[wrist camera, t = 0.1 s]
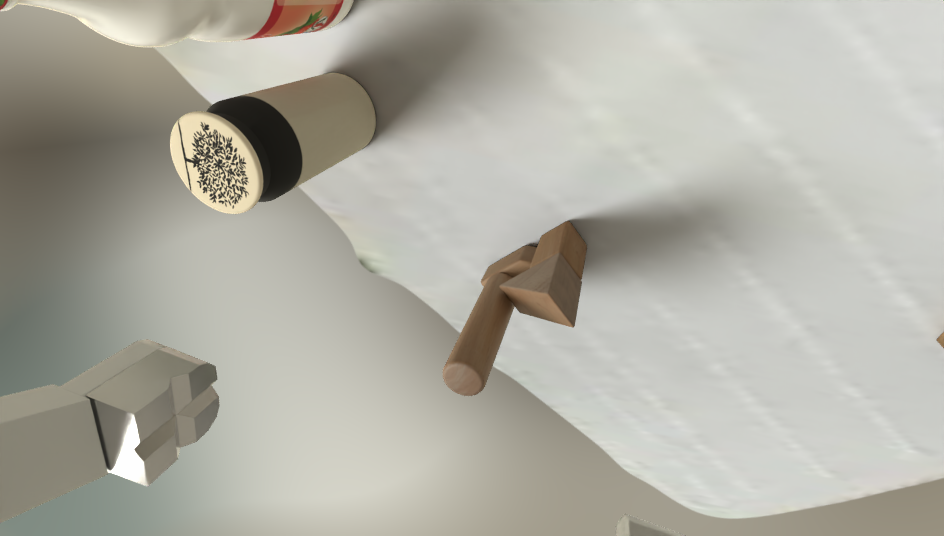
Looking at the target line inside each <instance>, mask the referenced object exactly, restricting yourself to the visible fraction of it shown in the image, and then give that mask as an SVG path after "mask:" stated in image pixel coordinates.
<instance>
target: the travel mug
mask: <svg viewBox="0 0 944 536" xmlns="http://www.w3.org/2000/svg"><path fill="white" fill-rule="evenodd" d="M375 127H376V116H375V110H374V107H373V104H372V101H371V99H370V97H369V96H368V94H367V93H366V91H365V90H364V89H363V87H362V86H361V85H360V84H359V83H357V82H356V81H355V80H354V79H352V78H350V77H348V76H346V75H344V74H340V73H327V74H323V75H319V76H315V77H311V78H308V79H304V80H300V81H296V82H292V83H288V84H284V85H280V86H276V87H272V88H269V89H265V90H261V91H257V92H253V93H249V94H245V95H241V96H237V97H234V98H230V99H226V100H222V101H219V102H216V103H215V104H213V105H212V106H211V107H210V108H209V109H208V110H207V111H206V112H203V111H196V112H191V113H188V114H186V115H184V116H182V117H181V118H180V119H179V120H178V121H177V122H176V124H175V125H174V127H173V130H172V133H171V139H170V148H171V154H172V159H173V162H174V165H175V167H176V170H177V172H178V174H179V175H180V177H181V179H182V180H183V182H184V183H185V185H186V186H187V187H188V188H189V190H190V191H191V192H192V193H193V194H194V195H195V196H196V197H197V198H199V200H201V201H202V202H203V203H205V204H206V205H208V206H209V207H211V208H213V209H216V210H218V211H220V212H224V213H229V214H237V213H238V214H239V213H243V212H246V211H248V210H250V209H251V208H253V207H254V206H255V205H256V203H257V202H266V201H271V200H274V199H276V198H277V197H279V196H281V195H283V194H285V193H286V192H288V191H290V190H292V189H293V188H295V187H297V186H299V185H300V184H302V183H304V182H306V181H307V180H309V179H311V178H313V177H314V176H316V175H318V174H319V173H321V172H323V171H325V170H326V169H328V168H330V167H332V166H333V165H335V164H337V163H339V162H340V161H342V160H344V159H346V158H347V157H349V156H351V155H353V154H354V153H356V152H358V151H360V150H361V149H363V148H364V147H366V146H367V145H368V144H369V142H370V141H371V139H372V137H373V135H374V132H375Z"/></svg>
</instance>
